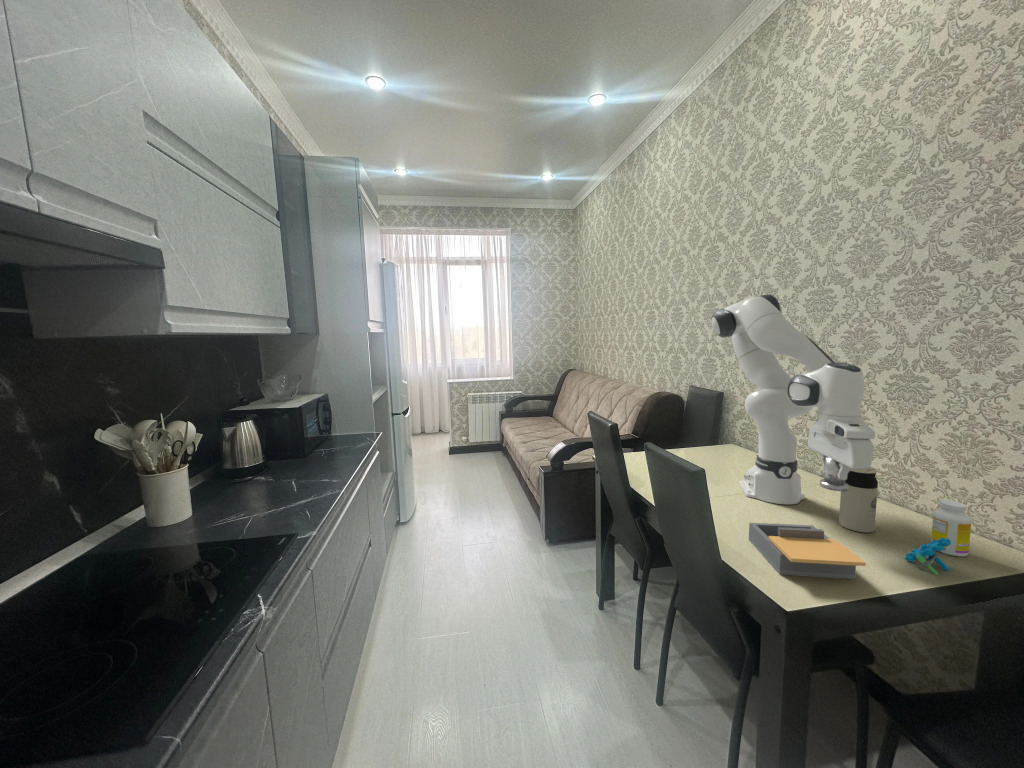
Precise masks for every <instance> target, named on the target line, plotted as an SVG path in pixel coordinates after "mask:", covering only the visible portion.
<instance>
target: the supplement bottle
mask: <svg viewBox="0 0 1024 768" xmlns="http://www.w3.org/2000/svg"><path fill="white" fill-rule="evenodd" d="M938 506H939V508H938V509H935V510H934V511H933V512H932V514H933V515H932V525H931V538H930V542H931V541H933V540H936V541H937V540H939V539H941V538H944V539H946V538H948V539H949V540H950V541H951V542H950V543H951V544H950V545H949V546H947V547H945V546H943V547H944V548H945V549H944V550H942V551H938V550H937V551H936V552H940V553H942V554H945V555H949V556H955V557H966V556H968V555H969V553H970V543H971V532H972V518H971V517H970V516H969V515H968V514H966V511H967V509H968V508H967V507H968V506H967V505H966V504H965V503H963V502H959V501H956V500H955V501H954V500H950V499H940V500H939V504H938Z"/></svg>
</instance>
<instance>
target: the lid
mask: <svg viewBox="0 0 1024 768" xmlns="http://www.w3.org/2000/svg"><path fill="white" fill-rule="evenodd" d="M824 534H825V530H823V529H822V528H817V529H807V528H785V527H778V536H769V537H768V539H769V540H770V541H771V542H772V543H773V544H774V545H775V546H776V547H777V548H778V549H779V550H780V551H781V552H782V553H783V554H784V555H785V556H786V557H787V558H788V559H789V560H790V561H791V562H802V563H820V564H837V565H854V566H856V567H858V566H859V567H866V564H867V563H866V561H864V560H863V559H862V558H860V557H859V556H857V555H856V554H855V553H854V552H852V551H851V550H849V549H848V548H847V547H845V546H844V545H843V544H841V543H840V542H839V541H837V539H835V538H830V539H824Z"/></svg>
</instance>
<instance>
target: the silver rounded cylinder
mask: <svg viewBox="0 0 1024 768" xmlns="http://www.w3.org/2000/svg"><path fill="white" fill-rule="evenodd" d="M840 468H841V467H840V466H839V462H837V461H835V460H833V459H831V458H829V457H827V456H826V458H825V471H824V470H823V471H824V473H823V479H820V480H819V486H820V487H821V488H823V489H826V490H830V491H833V492H841V491H848V487H849V485H848V484H847V483H845V480H841V479H839V478H837V477H836V475H837V474H836V471H839V470H840Z"/></svg>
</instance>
